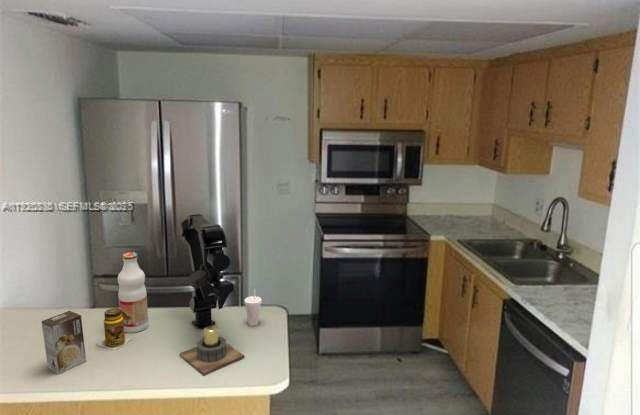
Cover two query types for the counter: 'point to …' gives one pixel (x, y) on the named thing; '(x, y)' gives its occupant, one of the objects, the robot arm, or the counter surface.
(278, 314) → the counter surface
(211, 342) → the brass pin
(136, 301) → the fruit juice
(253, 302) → the smoothie
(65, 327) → the coffee box
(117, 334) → the condiment
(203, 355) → the ring socket
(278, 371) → the counter surface
